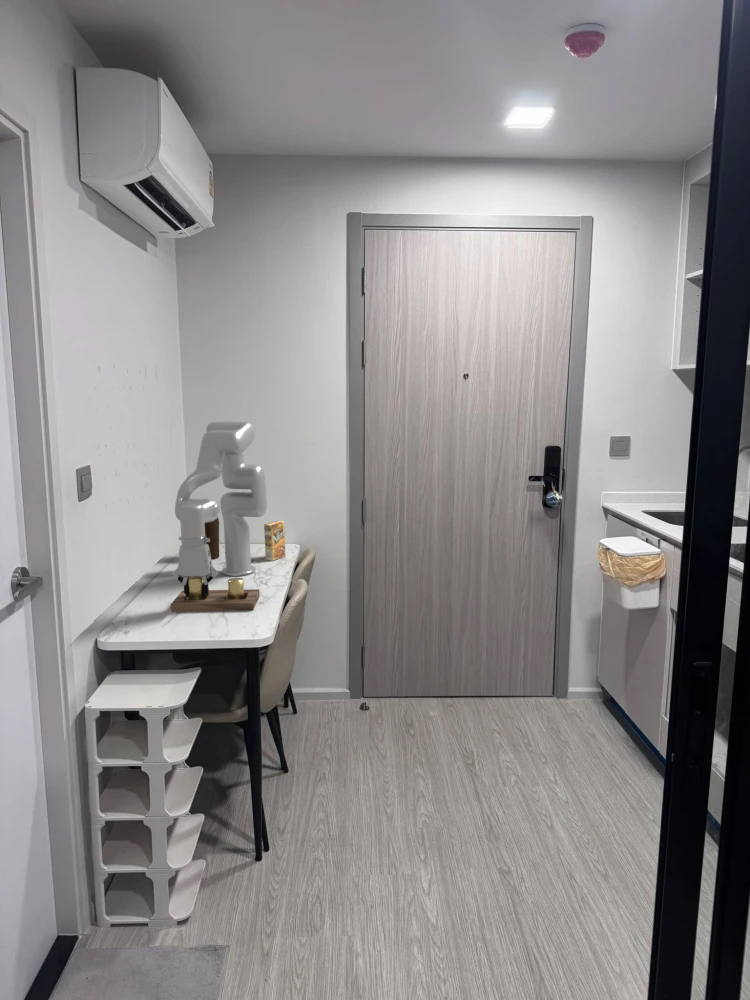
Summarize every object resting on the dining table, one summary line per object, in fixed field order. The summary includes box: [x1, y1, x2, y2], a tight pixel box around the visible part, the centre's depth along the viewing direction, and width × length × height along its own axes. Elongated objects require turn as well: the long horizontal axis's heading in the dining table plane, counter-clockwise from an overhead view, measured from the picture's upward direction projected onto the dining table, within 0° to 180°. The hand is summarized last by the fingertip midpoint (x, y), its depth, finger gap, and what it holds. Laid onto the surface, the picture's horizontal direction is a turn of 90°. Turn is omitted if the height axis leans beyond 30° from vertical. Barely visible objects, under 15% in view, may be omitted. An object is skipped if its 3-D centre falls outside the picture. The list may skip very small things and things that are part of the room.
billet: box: [188, 576, 205, 600], centre depth 215 cm, size 5×5×8 cm
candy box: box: [263, 520, 287, 562], centre depth 275 cm, size 9×4×15 cm, turn 150°
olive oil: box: [205, 498, 220, 560], centre depth 276 cm, size 11×11×25 cm
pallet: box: [170, 588, 260, 613], centre depth 216 cm, size 14×26×4 cm, turn 92°
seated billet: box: [227, 577, 245, 600], centre depth 215 cm, size 5×5×8 cm
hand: (196, 595), depth 215 cm, fingers closed on billet, 4 cm apart
